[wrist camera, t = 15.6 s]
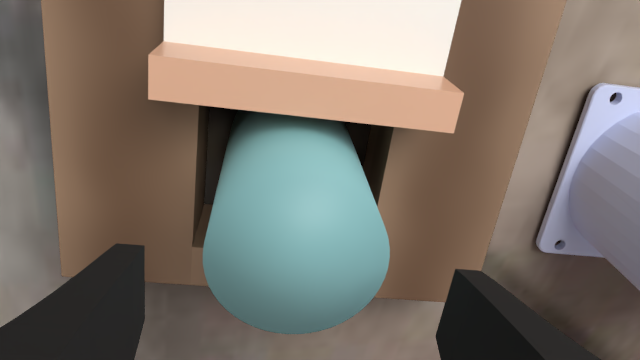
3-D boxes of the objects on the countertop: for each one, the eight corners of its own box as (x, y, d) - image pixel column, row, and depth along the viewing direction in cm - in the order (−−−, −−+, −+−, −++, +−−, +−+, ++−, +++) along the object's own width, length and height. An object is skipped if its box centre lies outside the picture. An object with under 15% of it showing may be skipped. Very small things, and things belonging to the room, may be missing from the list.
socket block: (553, -132, 18) (613, -147, 15) (445, 257, 24) (470, 303, 21) (71, -220, 16) (21, -261, 13) (91, 229, 22) (61, 276, 19)
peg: (355, 89, 21) (406, 185, 13) (337, 196, 23) (371, 338, 15) (234, 75, 20) (207, 165, 12) (226, 186, 22) (198, 329, 14)
